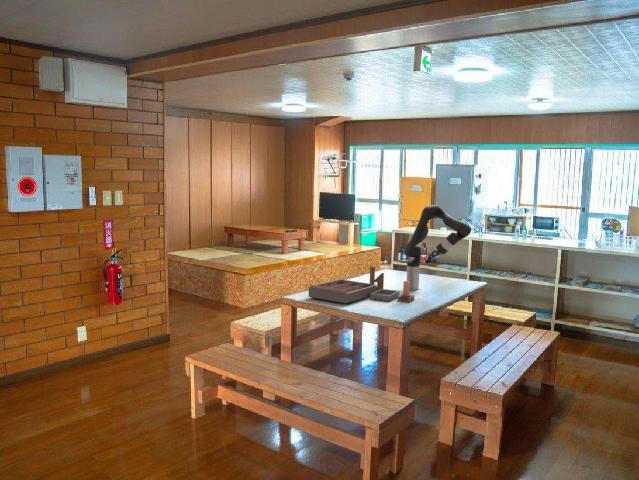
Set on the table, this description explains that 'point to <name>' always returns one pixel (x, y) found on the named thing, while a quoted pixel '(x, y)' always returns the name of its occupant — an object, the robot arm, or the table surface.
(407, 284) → the dowel
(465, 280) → the table surface
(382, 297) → the tray
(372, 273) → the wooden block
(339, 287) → the organizer tray
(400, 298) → the dowel collar
